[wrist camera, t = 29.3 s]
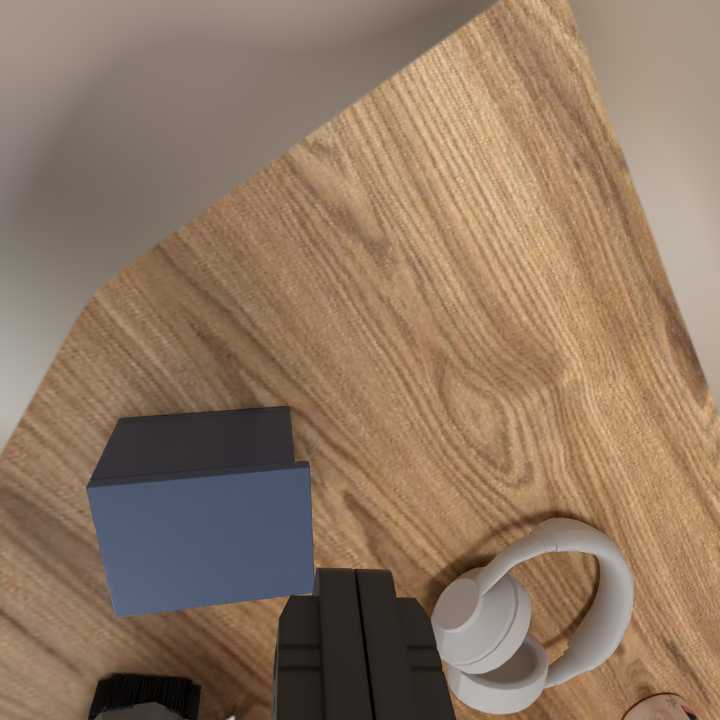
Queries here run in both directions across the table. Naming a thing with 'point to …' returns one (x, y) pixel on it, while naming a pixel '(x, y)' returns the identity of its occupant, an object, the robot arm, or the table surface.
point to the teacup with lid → (662, 709)
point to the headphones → (526, 622)
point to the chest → (197, 442)
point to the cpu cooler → (145, 701)
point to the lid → (205, 536)
